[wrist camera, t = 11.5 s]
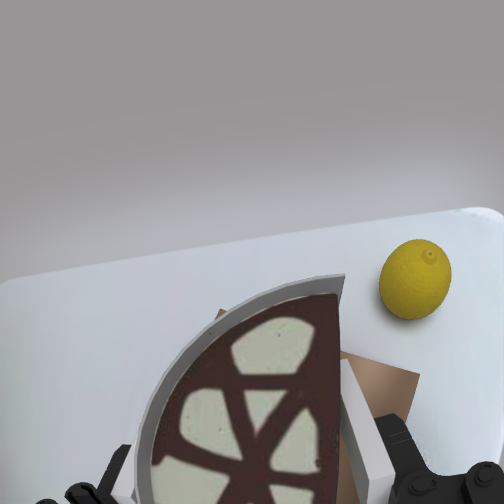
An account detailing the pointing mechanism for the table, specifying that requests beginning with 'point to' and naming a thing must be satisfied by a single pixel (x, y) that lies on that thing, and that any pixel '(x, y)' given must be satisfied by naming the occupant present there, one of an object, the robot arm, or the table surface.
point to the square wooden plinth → (373, 406)
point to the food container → (250, 406)
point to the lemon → (415, 279)
